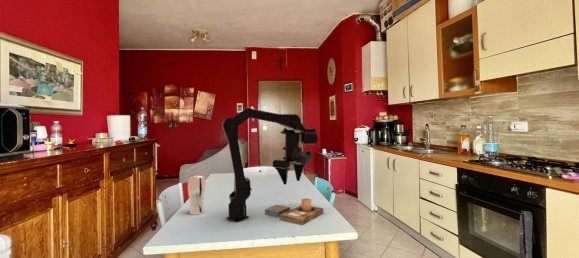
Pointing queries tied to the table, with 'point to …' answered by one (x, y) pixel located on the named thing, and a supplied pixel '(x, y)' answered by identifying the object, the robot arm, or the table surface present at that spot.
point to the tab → (276, 210)
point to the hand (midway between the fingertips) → (291, 182)
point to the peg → (306, 205)
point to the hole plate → (301, 215)
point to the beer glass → (196, 194)
